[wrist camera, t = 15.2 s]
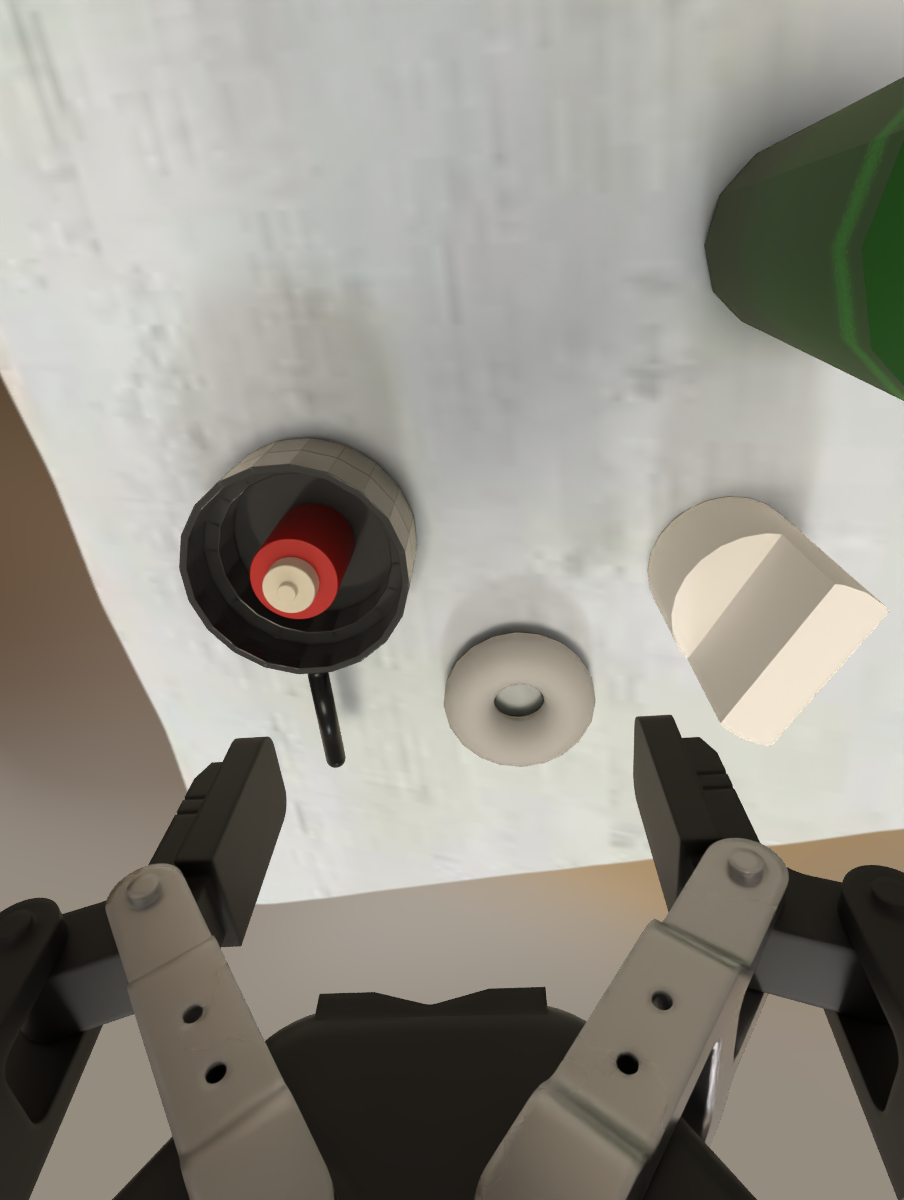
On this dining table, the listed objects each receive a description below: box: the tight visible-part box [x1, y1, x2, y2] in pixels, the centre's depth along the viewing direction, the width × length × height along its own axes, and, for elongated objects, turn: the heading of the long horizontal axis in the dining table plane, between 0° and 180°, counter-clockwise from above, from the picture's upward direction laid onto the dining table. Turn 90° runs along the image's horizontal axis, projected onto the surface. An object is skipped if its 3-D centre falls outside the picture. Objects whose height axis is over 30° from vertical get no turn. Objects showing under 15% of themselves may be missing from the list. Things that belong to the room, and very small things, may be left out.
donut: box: [444, 632, 595, 767], centre depth 46 cm, size 10×3×10 cm
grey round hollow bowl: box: [179, 438, 417, 674], centre depth 41 cm, size 12×12×6 cm
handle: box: [308, 672, 345, 768], centre depth 43 cm, size 8×1×1 cm, turn 5°
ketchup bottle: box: [250, 503, 355, 619], centre depth 40 cm, size 5×5×8 cm
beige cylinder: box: [648, 497, 889, 746], centre depth 38 cm, size 9×9×12 cm
